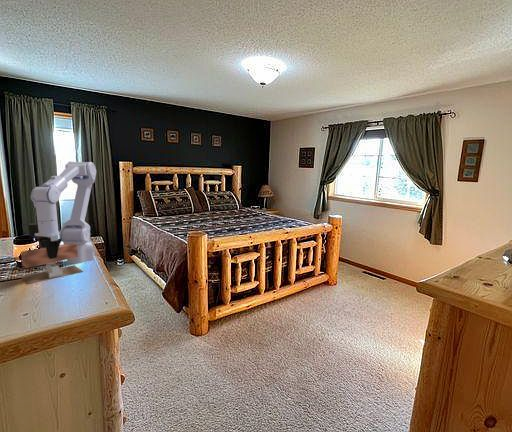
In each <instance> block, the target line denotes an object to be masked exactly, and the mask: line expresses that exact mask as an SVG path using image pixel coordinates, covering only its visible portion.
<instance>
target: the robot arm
mask: <svg viewBox="0 0 512 432" xmlns="http://www.w3.org/2000/svg"><path fill="white" fill-rule="evenodd" d="M64 167H65V169H64V170H63V171H61V173H60V174H59V175H52V176H51V177H50V179H48V180H47V181H46V182H44V183H43V184H42V185H41V186H36V187H35V188H33V189H32V190H31V193H30V200H31V202H33V206H34V208H35V209H36V217H37V219H36V220H37V223H38V229H39V233H35V236H43V237H39V238H37V239H38V240H39V241H40V243H41V245H42V247H43V248H46V250H47V253H48V256H49V259H52V258H57V254H58V248H59V245H61V243H63V244H68V243H74V244H77V253H78V257H75V258H71V259H66V263H67V264H69V265H76V264H78V265H79V264H83V263H86V262H91V261H95V254H94V246H93V242H92V241H90V238H91V226H90V224H89V223H87V222H86V215H87V211H88V206H89V201H90V195H91V191H92V186H93V184H94V183H95V182H96V181H95V180H96V176H97V169H96V168H97V167H96V165H95V164H94V162H92V161H86V162H85V161H68V162H67V163H66V164H65V166H64ZM70 181H72V182H73V183H74V184H75V185H77V188H76V191H75V197H74V200H73V205H72V206H73V207H72V209H71V215H70V219H68V220H67V221H65V222H63V224H62V227H61V229H60V230H59V223H58V222H59V221H58V213H57V202H59V200H60V196H61V193H62V192H63V191H64V190H66V188H67V187H68V185H69V184H68V182H70Z"/></svg>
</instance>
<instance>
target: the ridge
mask: <svg viewBox="0 0 512 432" xmlns="http://www.w3.org/2000/svg"><path fill="white" fill-rule="evenodd" d="M60 268H61V267H59V264H57V263H56V262H52V263H48V264H45V266H43V267H42V272H43V273H44V274H45V275H46V276H47V277H48V278H54V277H59V276H63V271H62V270H61V269H60ZM63 277H64V276H63ZM59 278H60V277H59ZM54 279H55V278H54Z"/></svg>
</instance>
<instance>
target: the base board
mask: <svg viewBox="0 0 512 432" xmlns="http://www.w3.org/2000/svg"><path fill="white" fill-rule="evenodd" d="M59 268H60V269H61V270H62V271H63V276H59V277H54V278H48V277H47V276H46V275H45V274H44V273H43V271H41V272H40V271H39V272H35V273H31V274H25V275H20V278H21V280H23V282H24V283H25V284H26V285H31V284H37V283H40V282H45V281H49V280H54V279H58V278H59V279H60V278H63V277H68V276H71V275H76V274H80V273H84V270H82V269H80V267H78V266H76V264H72V265H70V266H65V267H64V266H63V267H59Z"/></svg>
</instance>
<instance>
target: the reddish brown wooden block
mask: <svg viewBox="0 0 512 432" xmlns="http://www.w3.org/2000/svg"><path fill="white" fill-rule="evenodd" d="M20 256H21V266H22V267H24V268H26V269H28V268H32V267H38V266H43V265H46V264H48V263H52V262H55V263H56V262H61V261H67V259H71V258H75V257H78V253H77V244H74V243H68V244H64V243H63V244H60V245H59V248H58V254H57V258H52V259H49V256H48V253H47V250H46V248H40V249H34V250H31V249H29V250H23V251H20Z"/></svg>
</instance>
